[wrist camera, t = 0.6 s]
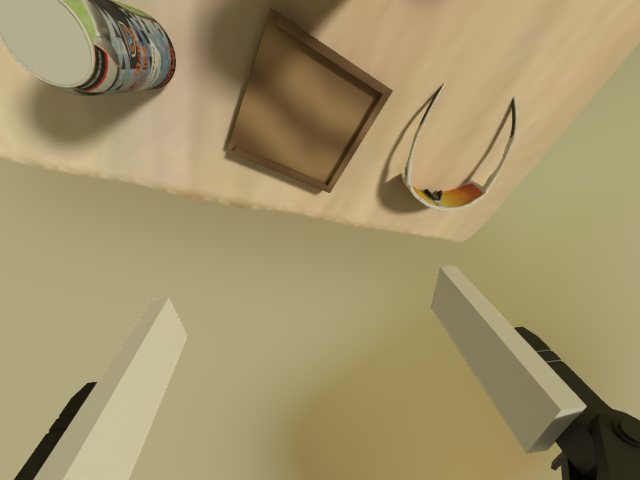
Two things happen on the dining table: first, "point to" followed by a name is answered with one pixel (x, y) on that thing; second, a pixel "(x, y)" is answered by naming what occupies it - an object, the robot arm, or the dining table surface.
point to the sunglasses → (464, 193)
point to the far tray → (304, 107)
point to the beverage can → (87, 45)
